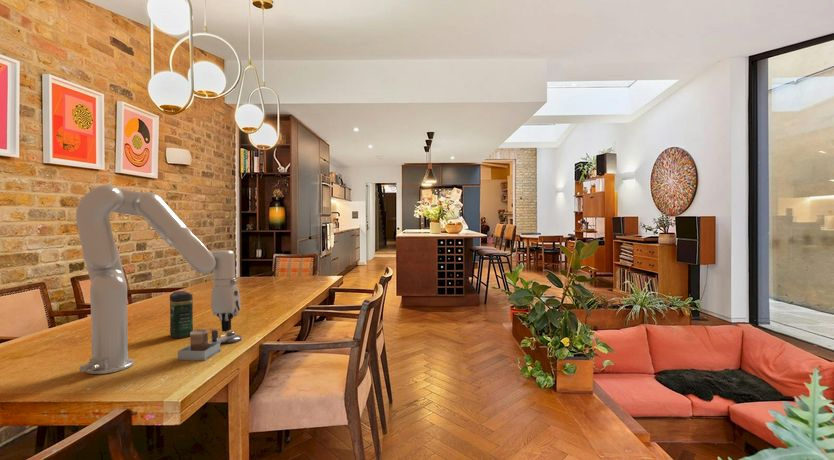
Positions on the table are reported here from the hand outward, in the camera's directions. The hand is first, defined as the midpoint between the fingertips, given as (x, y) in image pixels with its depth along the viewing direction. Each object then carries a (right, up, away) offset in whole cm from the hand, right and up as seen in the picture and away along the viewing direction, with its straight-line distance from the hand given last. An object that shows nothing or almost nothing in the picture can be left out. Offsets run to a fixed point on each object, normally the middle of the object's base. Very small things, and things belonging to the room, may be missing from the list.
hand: (226, 330), depth 158 cm
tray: (-6, -7, -9) cm, 12 cm away
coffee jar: (-26, -6, +16) cm, 31 cm away
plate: (-6, -6, +14) cm, 17 cm away
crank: (-3, -5, +5) cm, 8 cm away
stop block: (-6, -6, -9) cm, 12 cm away
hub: (-2, -6, +9) cm, 11 cm away
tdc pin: (-6, -6, +14) cm, 17 cm away
